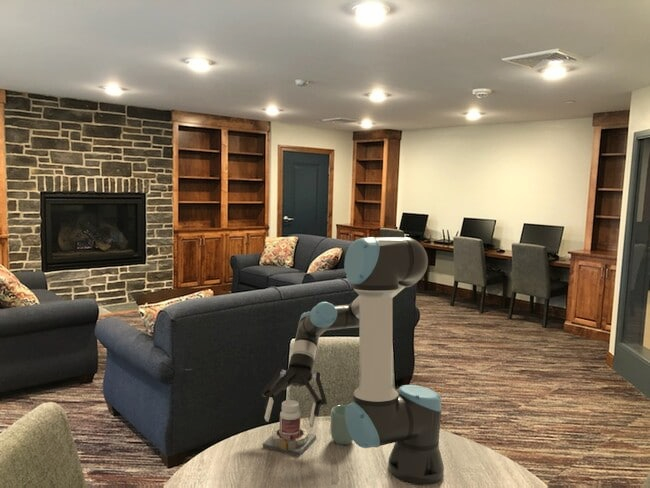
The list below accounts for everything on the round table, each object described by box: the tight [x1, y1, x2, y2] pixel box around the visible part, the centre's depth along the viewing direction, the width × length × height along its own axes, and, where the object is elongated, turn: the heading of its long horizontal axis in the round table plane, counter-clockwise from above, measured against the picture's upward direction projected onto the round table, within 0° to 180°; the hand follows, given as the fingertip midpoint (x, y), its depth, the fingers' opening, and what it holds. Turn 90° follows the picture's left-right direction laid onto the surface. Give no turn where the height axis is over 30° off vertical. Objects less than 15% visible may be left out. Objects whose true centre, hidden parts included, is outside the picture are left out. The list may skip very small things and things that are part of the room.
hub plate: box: [262, 426, 317, 457], centre depth 162 cm, size 12×12×3 cm
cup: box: [330, 404, 354, 446], centre depth 164 cm, size 8×8×10 cm
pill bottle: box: [278, 399, 301, 439], centre depth 162 cm, size 6×6×11 cm
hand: (288, 422), depth 160 cm, fingers open, 13 cm apart
